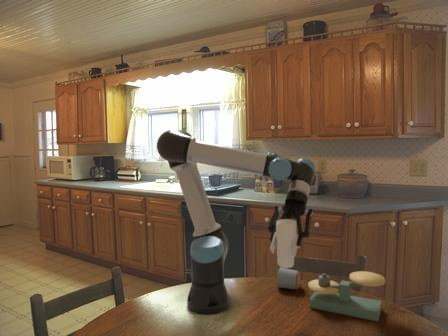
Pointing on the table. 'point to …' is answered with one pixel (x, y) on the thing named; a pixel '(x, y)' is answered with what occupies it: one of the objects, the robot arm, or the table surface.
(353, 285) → the balance
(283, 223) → the white cup
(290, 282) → the ceramic mug
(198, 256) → the robot arm
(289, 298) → the table surface
